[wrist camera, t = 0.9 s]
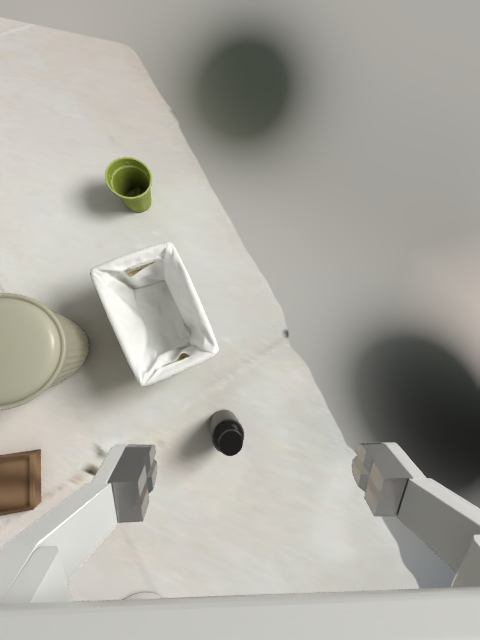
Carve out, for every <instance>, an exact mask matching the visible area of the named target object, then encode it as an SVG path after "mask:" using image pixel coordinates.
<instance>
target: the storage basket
mask: <svg viewBox="0 0 480 640" xmlns="http://www.w3.org/2000/svg"><path fill="white" fill-rule="evenodd" d="M147 261H154V262H152V263H149V264H146V265H143V266H140V267H137V268H135V269H131V270H127V271H125V272H123V271H124V270H126V269H128V268H130V267H132V266H134V265H136V264H139V263H143V262H147ZM90 274H91V278H92V280H93V283H94V286H95V288H96V291H97V293H98V296H99V298H100V300H101V303H102V305H103V307H104V310H105V312H106V315H107V317H108V319H109V322H110V324H111V326H112V328H113V330H114V333H115V335H116V337H117V339H118V342H119V344H120V346H121V348H122V350H123V353H124V355H125V357H126V360H127V362H128V364H129V366H130V368H131V370H132V372H133V374H134V376H135V378H136V380H137V382H138V383H139V385H140V386H142V387H145V386H148V385H151V384H154V383H156V382H159V381H161V380H163V379H166V378H168V377H170V376H173V375H175V374H177V373H179V372H181V371H184V370H186V369H188V368H190V367H193V366H195V365H197V364H199V363H202V362H204V361H206V360H207V359H209V358H211V357H213V356H215V355H216V353H218V351H219V348H218V345H217V342H216V339H215V336H214V334H213V331H212V329H211V326H210V324H209V321H208V319H207V316H206V314H205V311H204V309H203V307H202V304H201V302H200V300H199V297H198V295H197V293H196V290H195V288H194V286H193V283H192V281H191V279H190V277H189V274H188V272H187V270H186V268H185V266H184V264H183V262H182V260H181V258H180V256H179V254H178V252H177V250H176V248H175V247H174V245H173V244H172V243H169V242H166V243H163V244H159V245H155V246H151V247H148V248H145V249H141V250H138V251H136V252H133V253H130V254H127V255H124V256H121V257H119V258H116V259H113V260H111V261H108V262H106V263H104V264H101V265H99V266H96V267H94V268H92V269H91V273H90Z"/></svg>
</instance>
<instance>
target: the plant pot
mask: <svg viewBox="0 0 480 640" xmlns="http://www.w3.org/2000/svg"><path fill="white" fill-rule="evenodd" d="M105 180H106V184H107V186H108V187H109V189H110V190H111V191H112V192H113V193H114V194H116V195H118V196H119V197H120V198H121V199H122V200H123V201H124V203H125V204H126V205H127V206H128V208H129V209H131V210H132V211H135V212H144V211H146V210H147V209H148V208H149V207H150V206H151V192H150V188H151V185H152V175H151V172H150V170H149V168H148V167H147V166H146V165H145V164H144V163H143V162H141V161H140V160H138V159H135V158H131V157H123V158H118V159H116V160H114V161H113V162H111V163H110V164H109V166H108V167H107V169H106V172H105ZM132 192H134V193H133V194H132V195H131V196H130V194H131V193H132Z"/></svg>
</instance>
